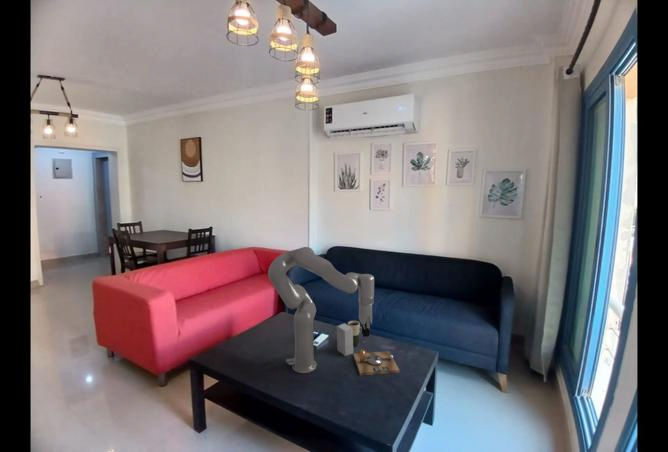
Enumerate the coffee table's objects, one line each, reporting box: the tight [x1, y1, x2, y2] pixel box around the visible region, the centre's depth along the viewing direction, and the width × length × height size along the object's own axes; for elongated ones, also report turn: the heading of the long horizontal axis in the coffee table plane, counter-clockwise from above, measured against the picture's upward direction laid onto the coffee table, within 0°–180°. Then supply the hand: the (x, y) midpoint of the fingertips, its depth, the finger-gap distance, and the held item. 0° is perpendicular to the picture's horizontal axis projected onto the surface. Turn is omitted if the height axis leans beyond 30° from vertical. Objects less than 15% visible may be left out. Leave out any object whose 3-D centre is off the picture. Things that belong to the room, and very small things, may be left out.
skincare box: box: [336, 323, 354, 357], centre depth 176 cm, size 8×6×15 cm
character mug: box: [347, 320, 362, 347], centre depth 184 cm, size 11×7×13 cm, turn 75°
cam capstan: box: [359, 349, 394, 365], centre depth 164 cm, size 18×8×6 cm, turn 97°
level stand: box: [352, 350, 400, 377], centre depth 164 cm, size 20×18×2 cm
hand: (365, 334), depth 156 cm, fingers closed
